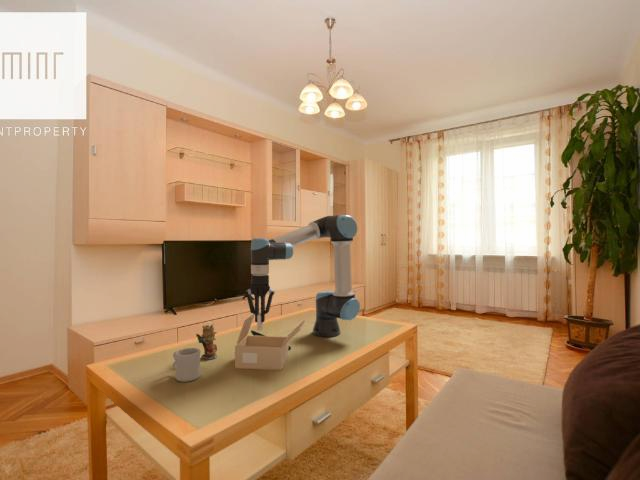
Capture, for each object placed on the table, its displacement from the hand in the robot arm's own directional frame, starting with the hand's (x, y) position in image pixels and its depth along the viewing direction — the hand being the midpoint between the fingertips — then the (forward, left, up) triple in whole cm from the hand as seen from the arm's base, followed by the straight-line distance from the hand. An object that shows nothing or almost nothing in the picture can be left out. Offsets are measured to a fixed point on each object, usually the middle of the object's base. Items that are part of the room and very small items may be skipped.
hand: (259, 329), depth 143 cm
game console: (-17, +1, -15) cm, 23 cm away
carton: (0, +1, -14) cm, 14 cm away
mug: (+17, -25, -14) cm, 33 cm away
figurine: (-3, -25, -14) cm, 29 cm away
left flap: (0, -8, -5) cm, 9 cm away
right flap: (0, +11, -5) cm, 12 cm away
